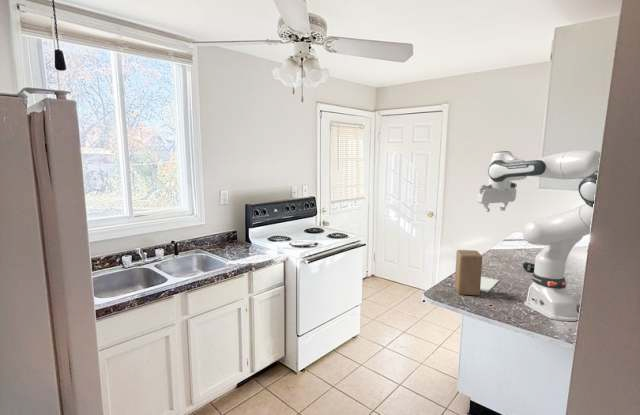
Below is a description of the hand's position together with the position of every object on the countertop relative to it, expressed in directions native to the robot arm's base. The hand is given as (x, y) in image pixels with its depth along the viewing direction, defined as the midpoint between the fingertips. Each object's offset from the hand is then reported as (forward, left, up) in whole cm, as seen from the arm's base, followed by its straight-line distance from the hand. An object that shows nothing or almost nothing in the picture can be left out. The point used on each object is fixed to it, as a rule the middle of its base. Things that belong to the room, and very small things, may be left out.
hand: (494, 211), depth 170 cm
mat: (+4, +4, -39) cm, 40 cm away
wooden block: (-9, +15, -39) cm, 43 cm away
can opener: (+21, -39, -40) cm, 60 cm away
